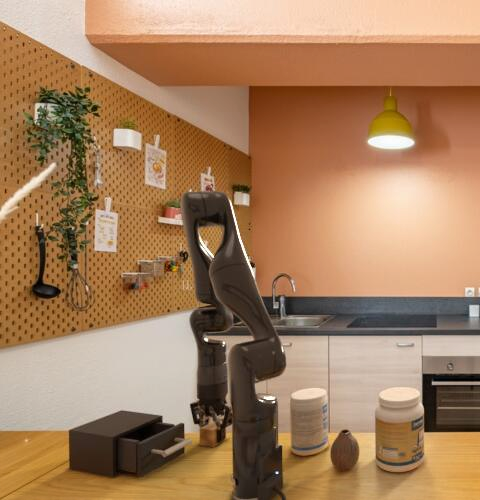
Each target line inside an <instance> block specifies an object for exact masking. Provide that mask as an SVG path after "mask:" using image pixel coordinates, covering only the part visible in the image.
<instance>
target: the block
mask: <svg viewBox="0 0 480 500" xmlns="http://www.w3.org/2000/svg"><path fill="white" fill-rule="evenodd" d="M220 423H221V424H222V422H220ZM216 430H217V427H216V424H215V422H213V421H212V422H211V421H210V422H209V424H207V425H205V426H203V427H201V428H200V427H199V446H203V447H210V448H214V447H216V446H218V445H219V444H220V443H217V431H216ZM226 440H227V437H226V438H225V440H224V441H226ZM224 441H223V442H224Z"/></svg>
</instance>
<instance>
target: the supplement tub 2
mask: <svg viewBox="0 0 480 500" xmlns="http://www.w3.org/2000/svg"><path fill="white" fill-rule="evenodd" d="M421 400H422V397H421V392H420V391H419V390H418V389H416V388H413V387H408V386H407V387H405V386H399V387H391V388H387V389H384V390H382V391H380V392H379V394H378V401H377V402H378V404H377V406H376V407H375V411H374V416H375V417H374V423H375V424H374V427H375V429H374V430H375V431H374V434H375V435H374V436H375V437H374V438H375V439H374V440H375V441H374V442H375V443H374V444H375V463H376V464H377V466H378V467H379V468H381V469H382V470H385V471H387V472H390V473H404V472H409V471H412V470H415V469H417V468H418V467H420V466H421V464H422V463H423V461H424V459H425V408H424V405H423V404H422V402H421Z"/></svg>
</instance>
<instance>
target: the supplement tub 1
mask: <svg viewBox="0 0 480 500" xmlns="http://www.w3.org/2000/svg"><path fill="white" fill-rule="evenodd" d="M289 410H290V411H289V418H290V423H289V424H290V425H289V426H290V450H291V452H292V453H293V454H295V455H296V456H302V457H303V456H304V457H305V456H312V455H316V454H319V453H320V452H322V451H324V450H325V449H326V448H327V447H328V444H329V417H328V416H329V415H328V394H327V390H325V388H321V387H309V388H308V387H307V388H303V389H298V390H295V391H294V392H292V393H291V395H290V401H289Z"/></svg>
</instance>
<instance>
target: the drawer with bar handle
mask: <svg viewBox="0 0 480 500" xmlns="http://www.w3.org/2000/svg"><path fill="white" fill-rule="evenodd" d="M192 443H193V438H191V437H188V438H186V439H185V423H184V422H180V423H177V424H174V423H169V422H163V423H162V422H154V423H151V424H149V425H147V426H144V427H142V428H140V429H138V430H135V431H133V432H131V433H128V434H126V435H124V436H121V437H119V438H117V439H116V469H118V470H123V471H125V472H130V473H133V474H134V473H135V474H137V478H143V477H145V476H148V474H150V473H152V472H154V471H156V470H158V469H159V468H161V467H163V466H165V465H167V464H168V463H170V462H172V461H174V460H175V459H178V458H179V457H181V456H183V455H184V454H185V453H186V447H187V446H189V445H191V444H192Z"/></svg>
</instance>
